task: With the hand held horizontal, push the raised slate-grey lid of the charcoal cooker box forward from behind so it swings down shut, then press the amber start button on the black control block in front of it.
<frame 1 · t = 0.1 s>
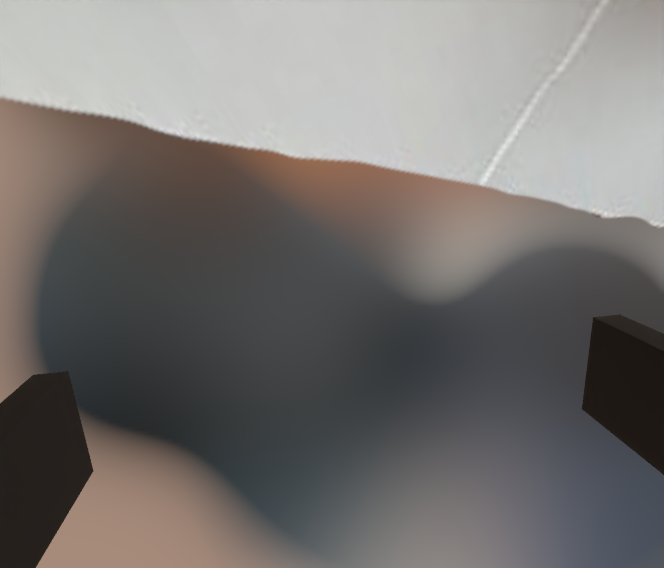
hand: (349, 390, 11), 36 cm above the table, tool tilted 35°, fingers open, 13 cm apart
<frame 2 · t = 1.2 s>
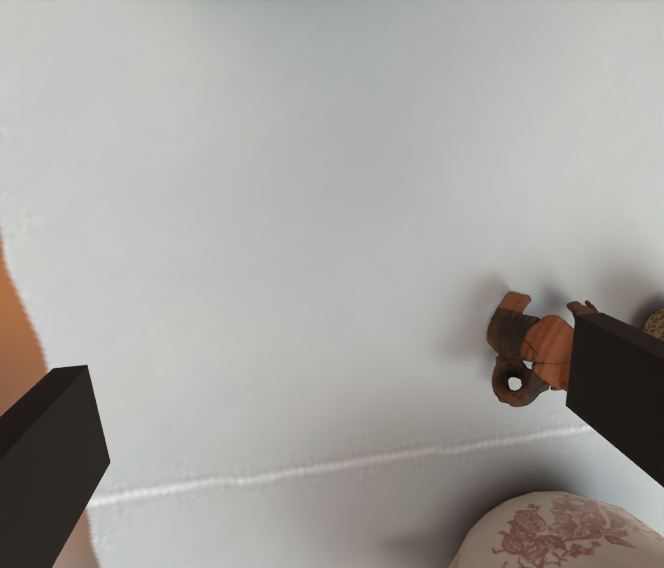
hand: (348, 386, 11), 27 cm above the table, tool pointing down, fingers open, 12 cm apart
decorative egg: (653, 324, 44), on the table
brown curved piece: (523, 336, 42), on the table
chamber pot: (521, 543, 50), on the table
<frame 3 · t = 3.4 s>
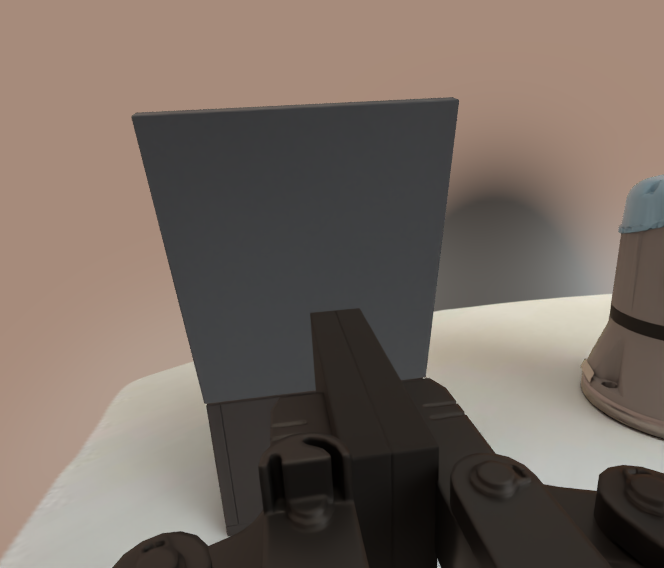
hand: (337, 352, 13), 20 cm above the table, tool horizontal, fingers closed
cooker: (317, 449, 40), on the table
cooker lid: (310, 272, 24), point 20 cm above the table, hinge at 105.0°
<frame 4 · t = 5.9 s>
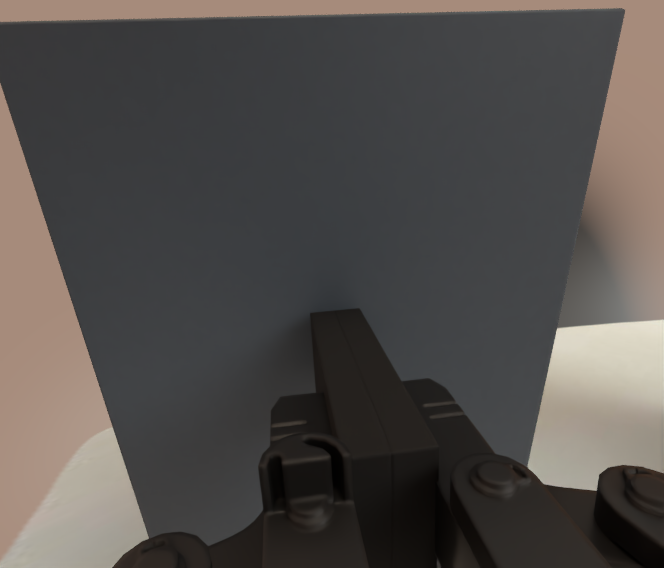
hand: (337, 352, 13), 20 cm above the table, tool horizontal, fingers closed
cooker lid: (336, 335, 14), point 20 cm above the table, hinge at 98.7°, touching gripper
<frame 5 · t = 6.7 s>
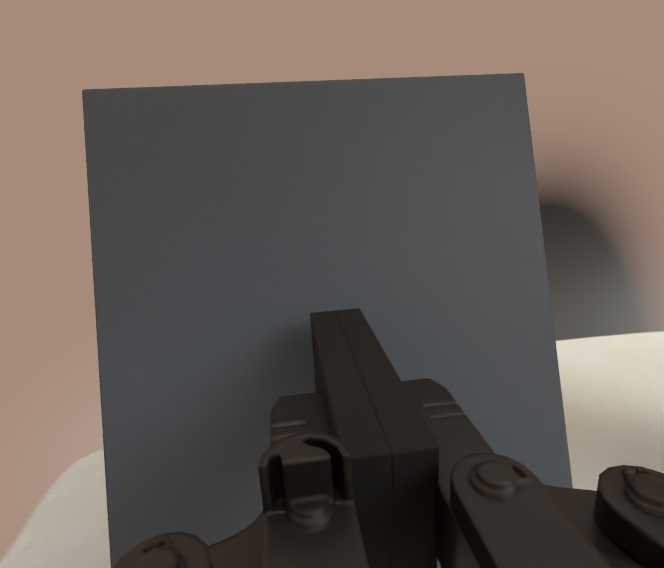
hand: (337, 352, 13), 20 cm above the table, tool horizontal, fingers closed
cooker lid: (336, 343, 14), point 20 cm above the table, hinge at 70.7°
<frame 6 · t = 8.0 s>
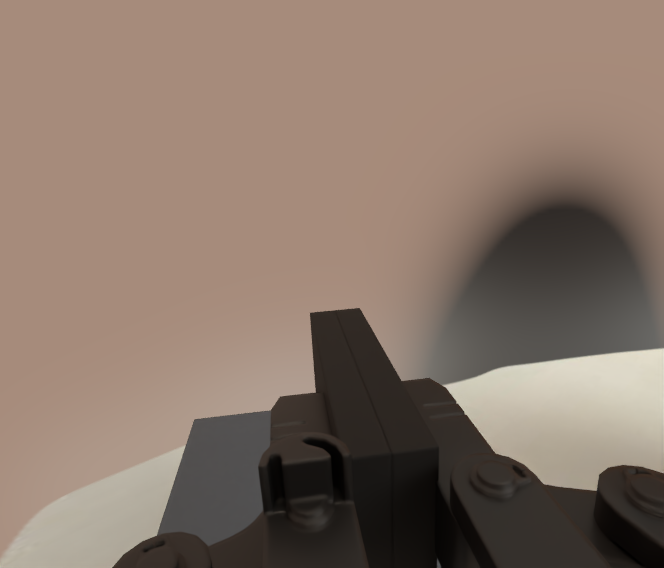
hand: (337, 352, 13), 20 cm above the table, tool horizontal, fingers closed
cooker lid: (343, 530, 17), point 11 cm above the table, hinge at -0.1°
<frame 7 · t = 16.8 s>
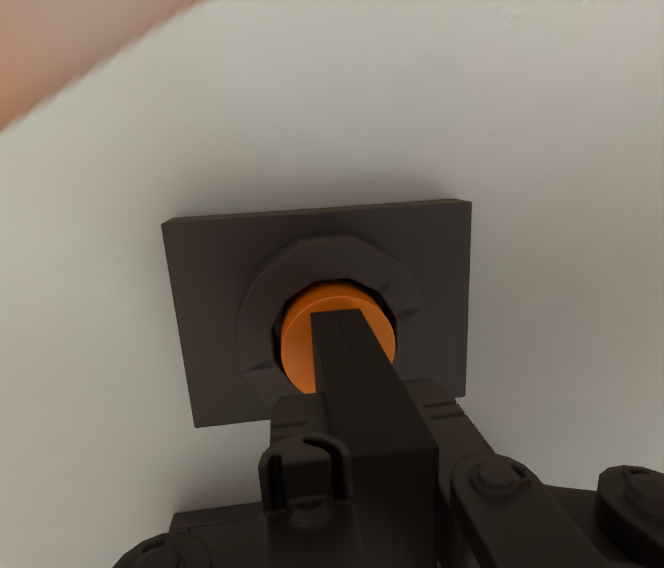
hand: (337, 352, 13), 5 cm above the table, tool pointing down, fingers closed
control block: (324, 306, 17), on the table
start button: (335, 338, 14), point 3 cm above the table, slide at -0.6 cm, touching gripper
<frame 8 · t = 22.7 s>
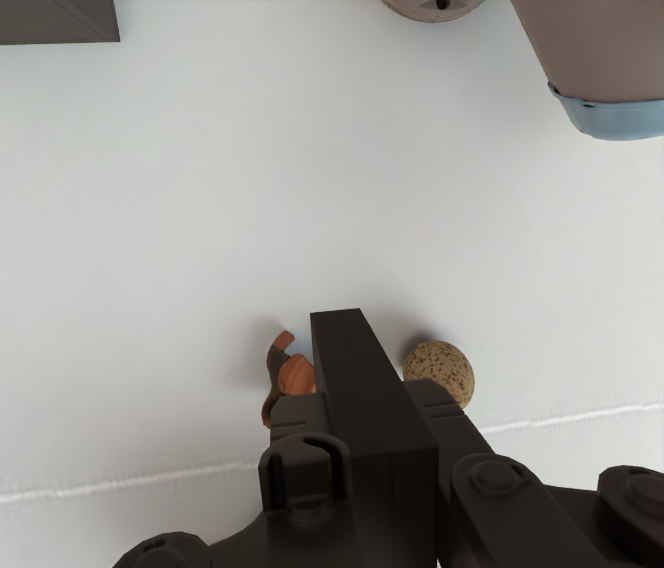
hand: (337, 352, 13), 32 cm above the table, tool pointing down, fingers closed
decorative egg: (423, 356, 50), on the table
brown curved piece: (303, 367, 49), on the table
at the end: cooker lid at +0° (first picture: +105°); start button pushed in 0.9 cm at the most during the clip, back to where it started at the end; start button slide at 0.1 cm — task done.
